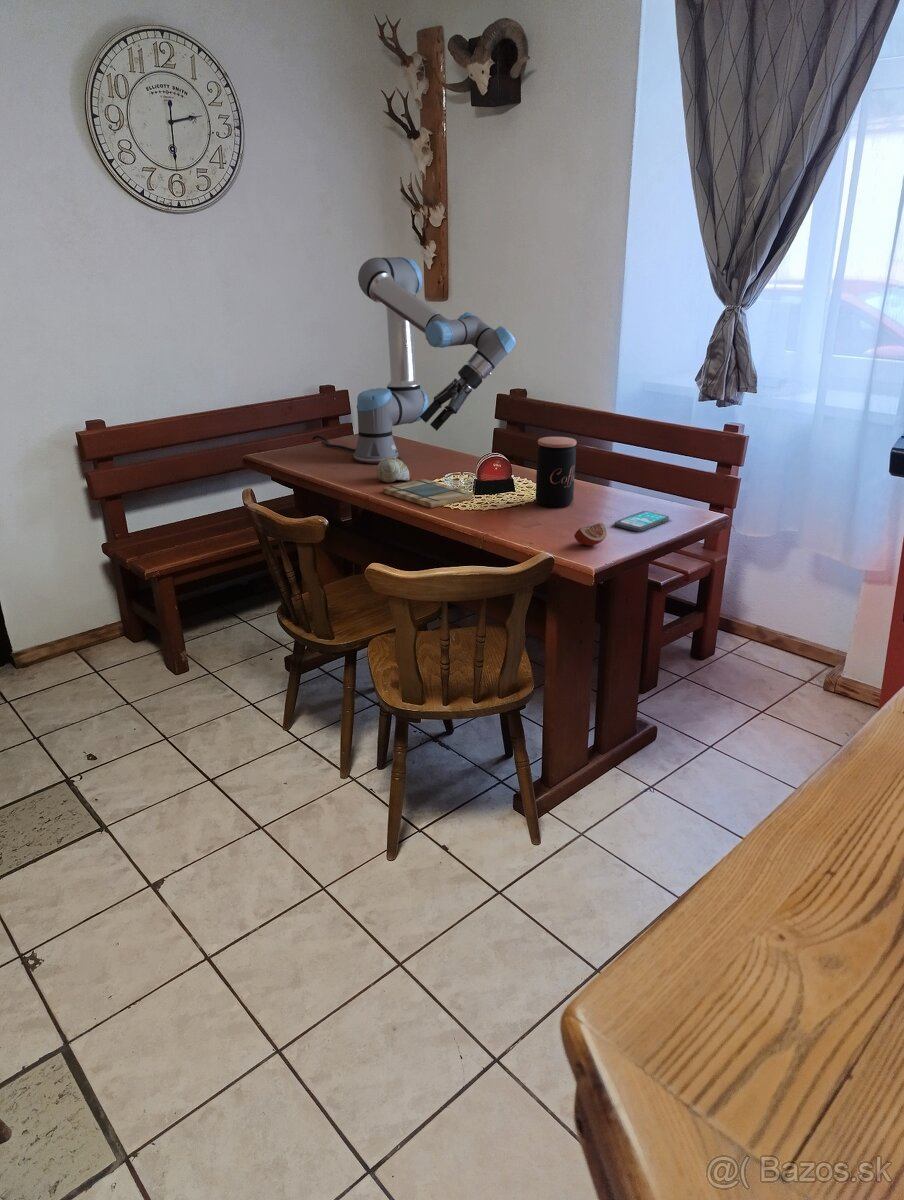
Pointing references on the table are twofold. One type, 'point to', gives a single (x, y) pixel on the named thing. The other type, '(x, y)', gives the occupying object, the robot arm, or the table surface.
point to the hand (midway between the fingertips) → (427, 423)
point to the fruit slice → (591, 534)
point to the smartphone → (641, 521)
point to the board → (427, 493)
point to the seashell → (392, 470)
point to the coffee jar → (555, 471)
